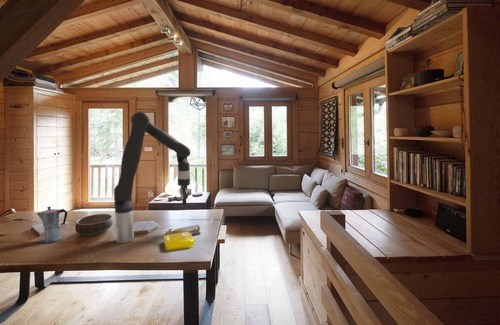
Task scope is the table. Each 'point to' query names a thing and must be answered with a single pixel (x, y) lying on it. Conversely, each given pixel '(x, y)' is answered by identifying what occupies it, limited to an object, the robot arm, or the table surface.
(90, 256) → the table surface
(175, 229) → the tong swing arm
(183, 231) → the tong fixed arm
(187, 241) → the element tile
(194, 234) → the tong board
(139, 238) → the table surface
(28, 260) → the table surface
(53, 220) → the moka pot
